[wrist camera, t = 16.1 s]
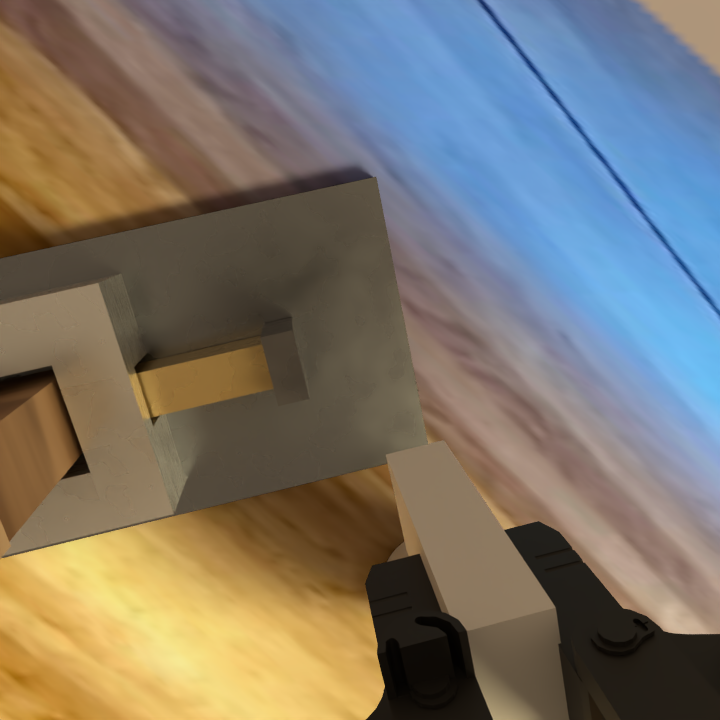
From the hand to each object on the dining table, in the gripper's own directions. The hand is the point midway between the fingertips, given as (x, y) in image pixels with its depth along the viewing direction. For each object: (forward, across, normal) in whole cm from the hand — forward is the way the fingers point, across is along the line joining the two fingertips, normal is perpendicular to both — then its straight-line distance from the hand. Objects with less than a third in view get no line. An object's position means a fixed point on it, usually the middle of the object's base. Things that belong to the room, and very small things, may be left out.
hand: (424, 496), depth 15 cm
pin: (+19, -8, 0) cm, 21 cm away
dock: (+20, -11, 0) cm, 23 cm away
